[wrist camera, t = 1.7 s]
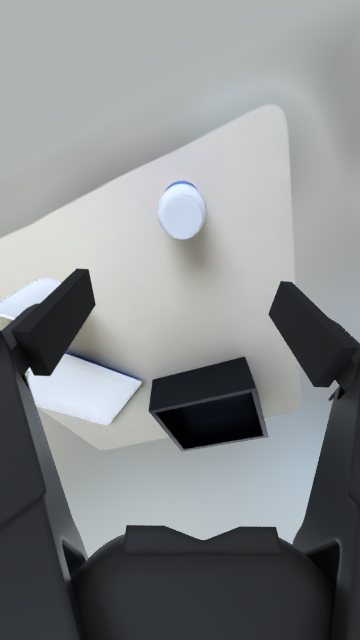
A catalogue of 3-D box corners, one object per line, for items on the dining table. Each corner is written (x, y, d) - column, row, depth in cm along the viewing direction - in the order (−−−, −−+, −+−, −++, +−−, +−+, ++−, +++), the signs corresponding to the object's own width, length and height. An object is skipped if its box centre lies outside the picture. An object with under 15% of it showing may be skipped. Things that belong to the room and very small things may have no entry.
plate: (25, 395, 53) (20, 402, 51) (42, 337, 42) (36, 344, 40) (109, 419, 59) (107, 426, 58) (143, 375, 48) (142, 382, 47)
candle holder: (26, 262, 33) (-39, 301, 23) (89, 288, 35) (54, 332, 26) (22, 309, 38) (-33, 357, 28) (77, 329, 40) (44, 379, 31)
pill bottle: (160, 181, 27) (152, 184, 19) (202, 180, 26) (212, 183, 19) (163, 227, 30) (157, 246, 22) (200, 226, 30) (208, 245, 22)
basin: (244, 356, 45) (256, 387, 38) (257, 406, 56) (268, 436, 49) (152, 379, 49) (148, 411, 43) (181, 421, 60) (181, 451, 54)
